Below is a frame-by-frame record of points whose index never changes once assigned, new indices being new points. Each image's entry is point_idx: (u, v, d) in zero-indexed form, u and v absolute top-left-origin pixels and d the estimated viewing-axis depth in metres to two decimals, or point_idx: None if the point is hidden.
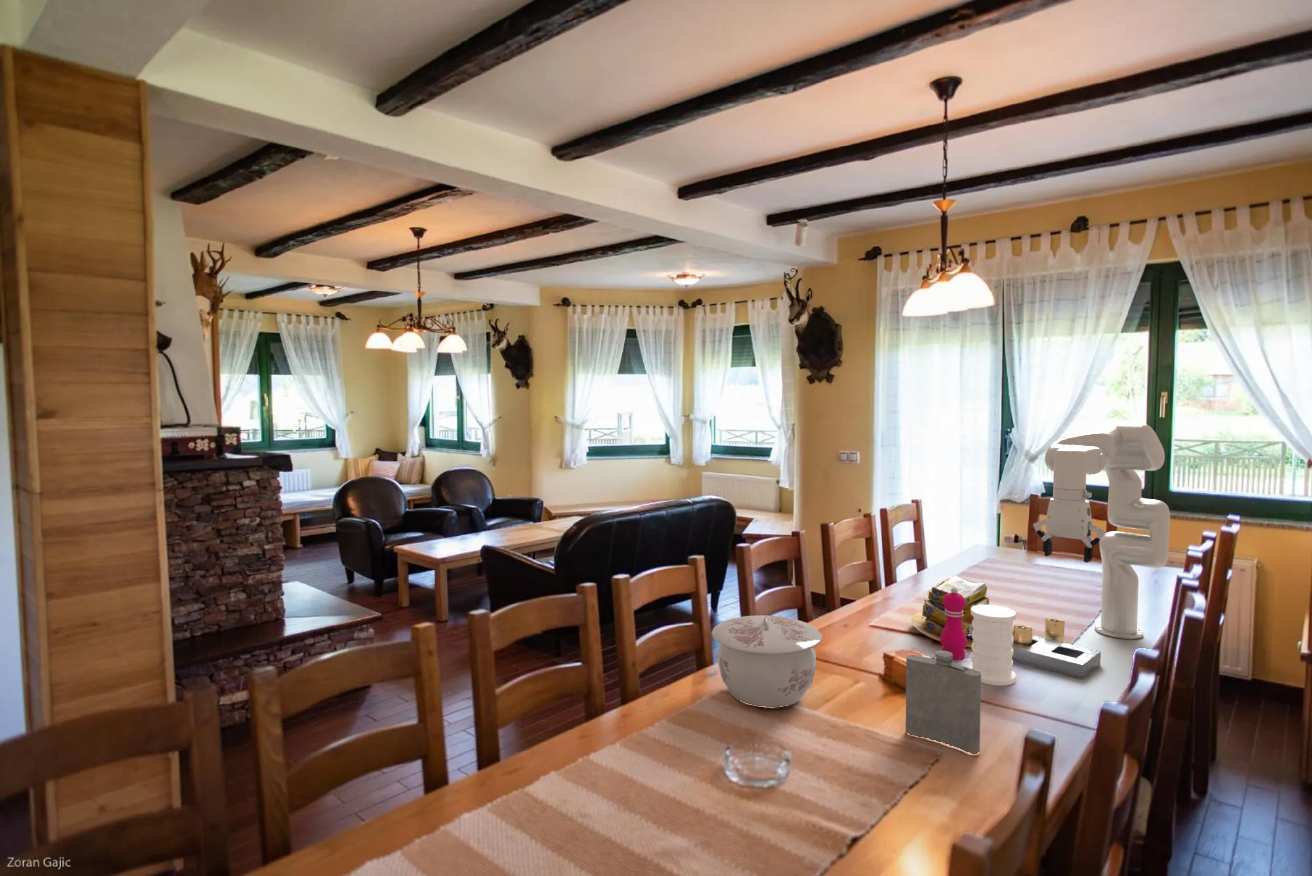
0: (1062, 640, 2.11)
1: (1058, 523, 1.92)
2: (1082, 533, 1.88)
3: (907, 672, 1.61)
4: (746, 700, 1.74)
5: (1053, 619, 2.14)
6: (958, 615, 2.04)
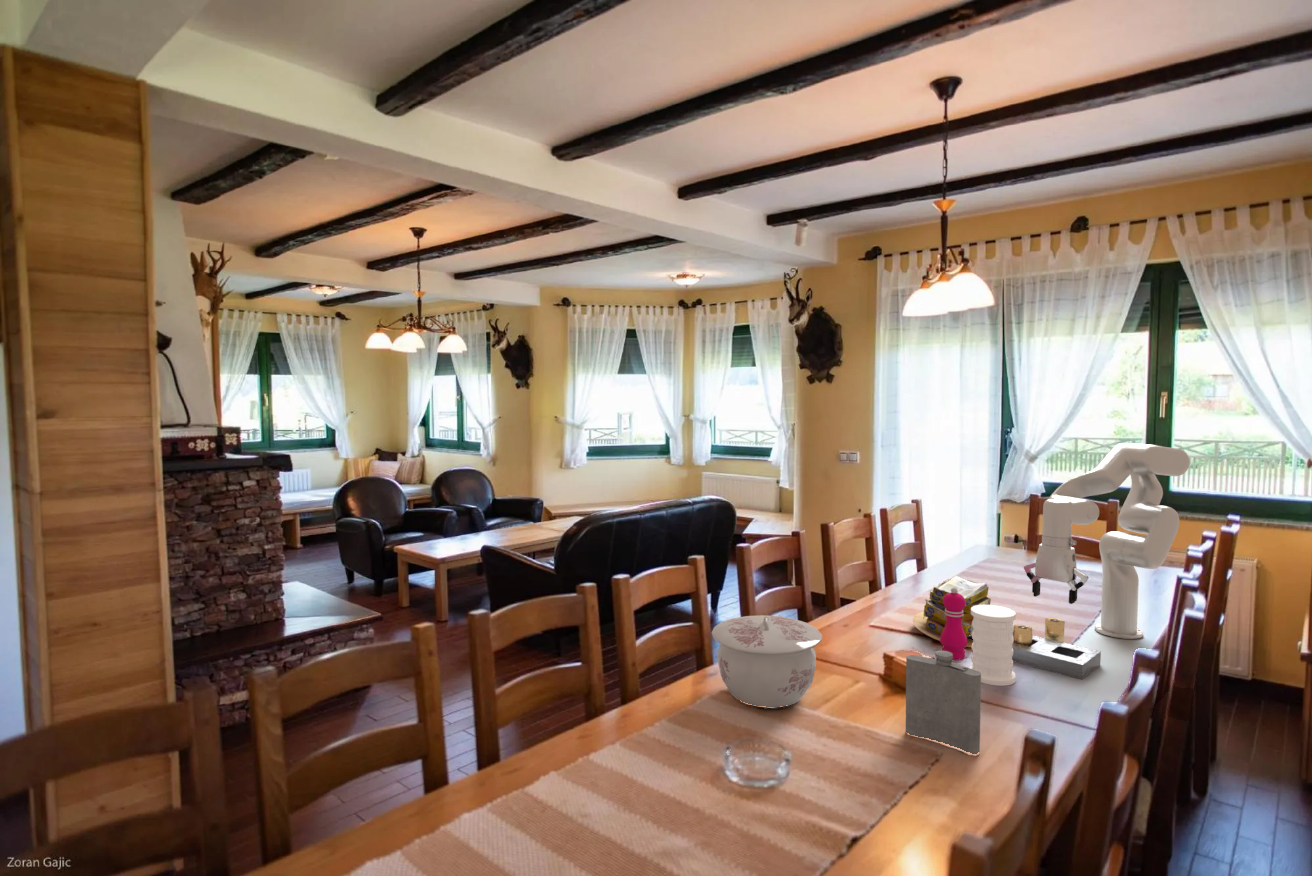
0: (1062, 640, 2.11)
1: (1046, 567, 2.11)
2: (1068, 577, 2.07)
3: (907, 672, 1.61)
4: (746, 700, 1.74)
5: (1053, 619, 2.14)
6: (958, 615, 2.04)
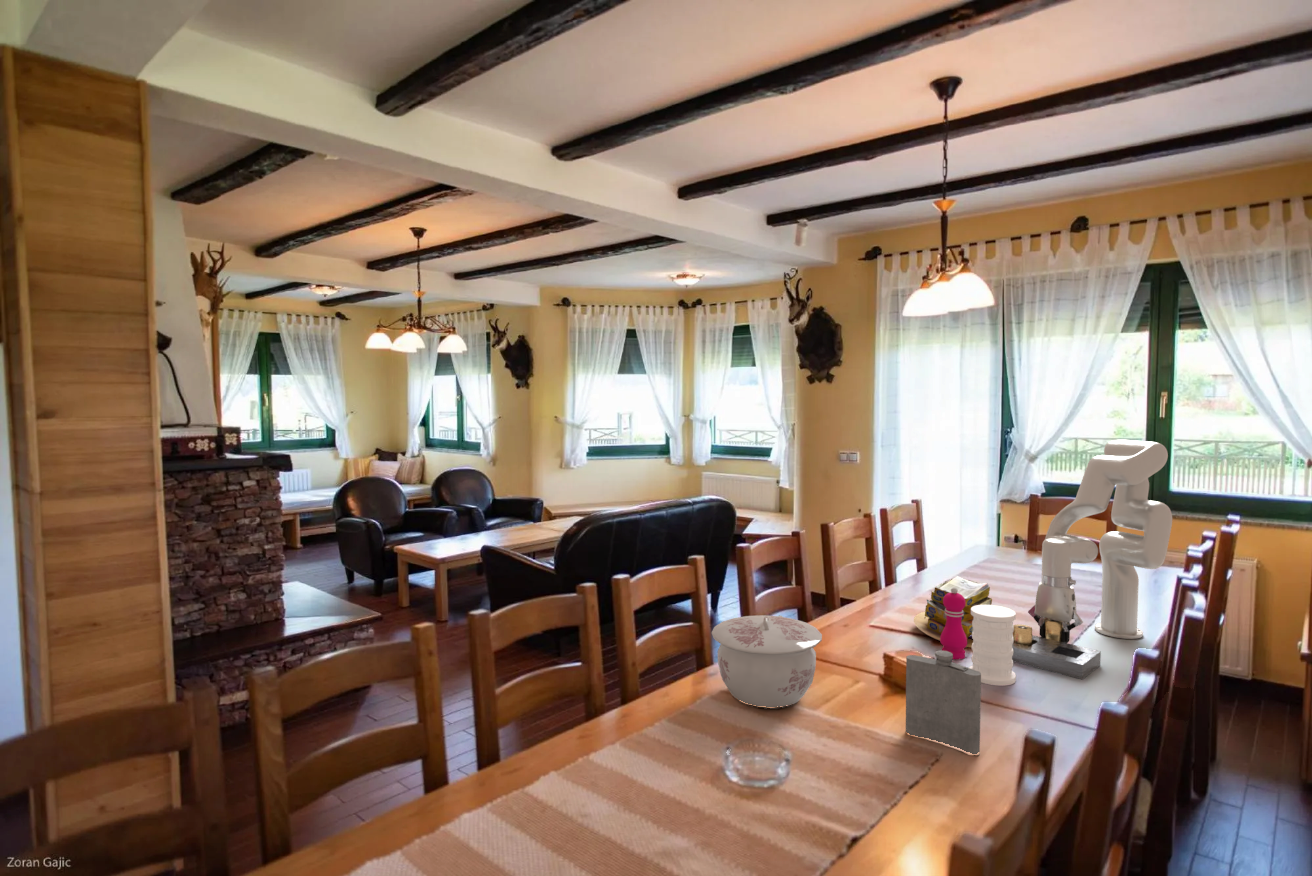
0: None
1: (1046, 606, 2.12)
2: (1067, 616, 2.08)
3: (907, 672, 1.61)
4: (746, 700, 1.74)
5: None
6: (958, 615, 2.04)
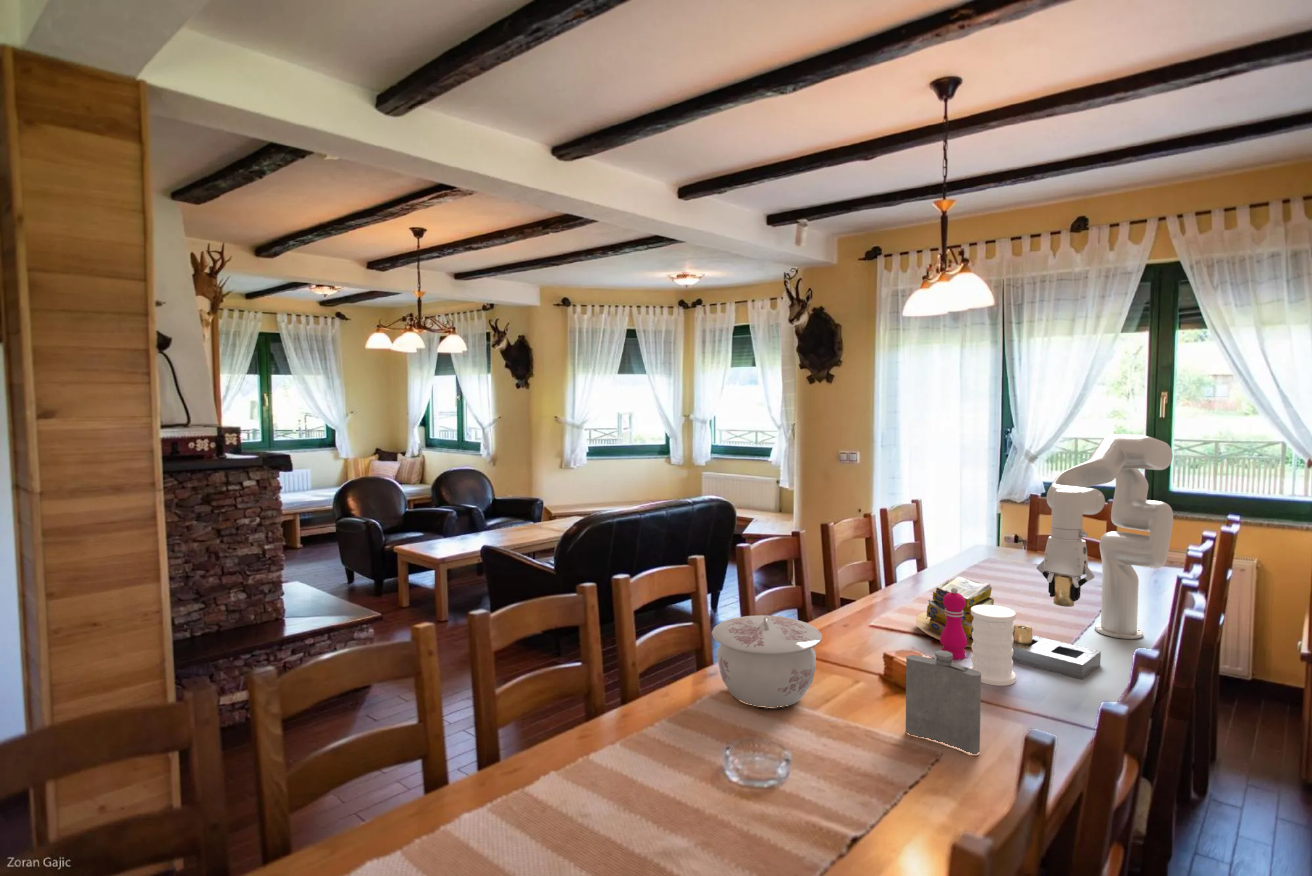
0: None
1: (1055, 560, 2.00)
2: (1078, 570, 1.96)
3: (907, 672, 1.61)
4: (746, 700, 1.74)
5: (1063, 575, 2.02)
6: (958, 615, 2.04)
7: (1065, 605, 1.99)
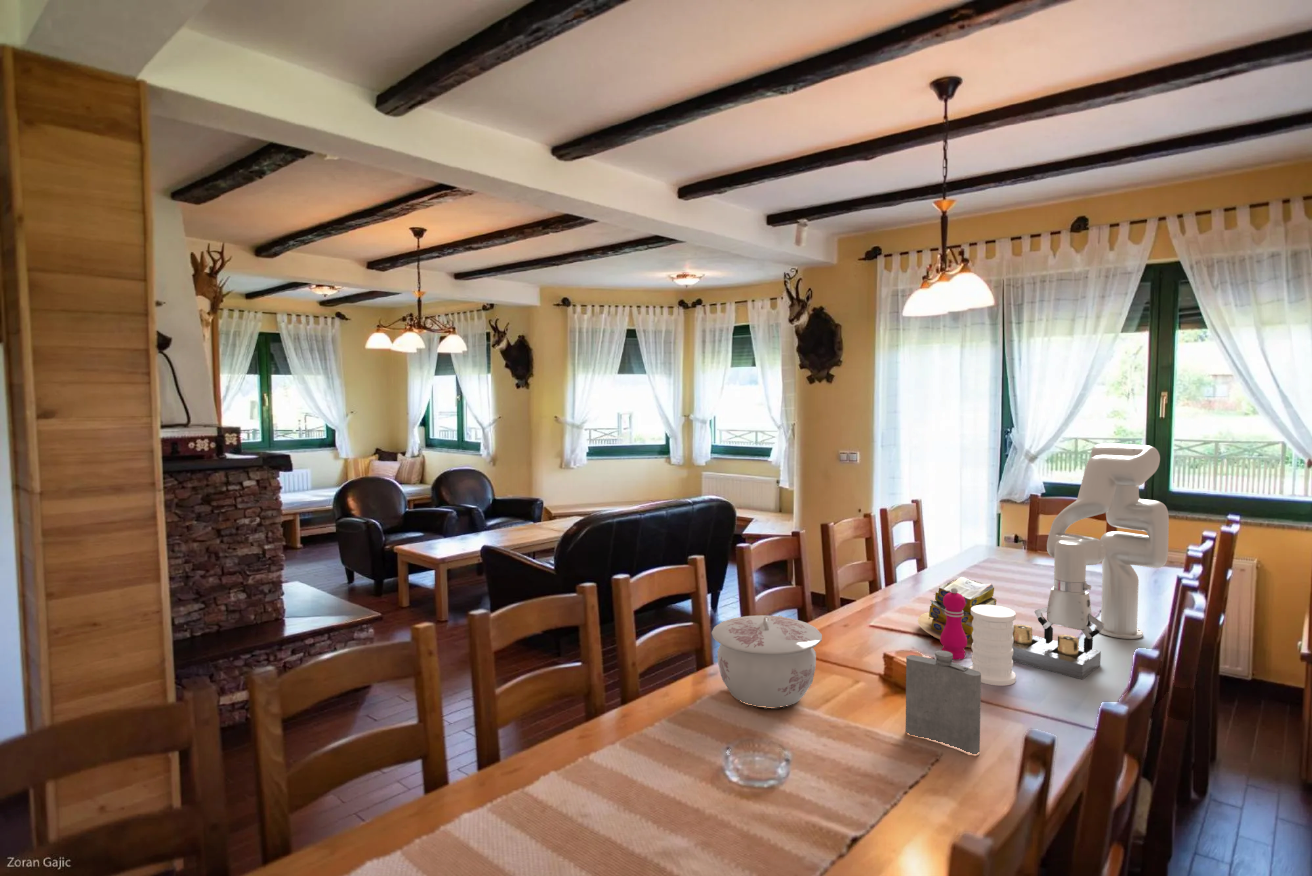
0: None
1: (1059, 613, 1.97)
2: (1082, 624, 1.93)
3: (907, 672, 1.61)
4: (746, 700, 1.74)
5: (1067, 636, 1.99)
6: (958, 615, 2.04)
7: None
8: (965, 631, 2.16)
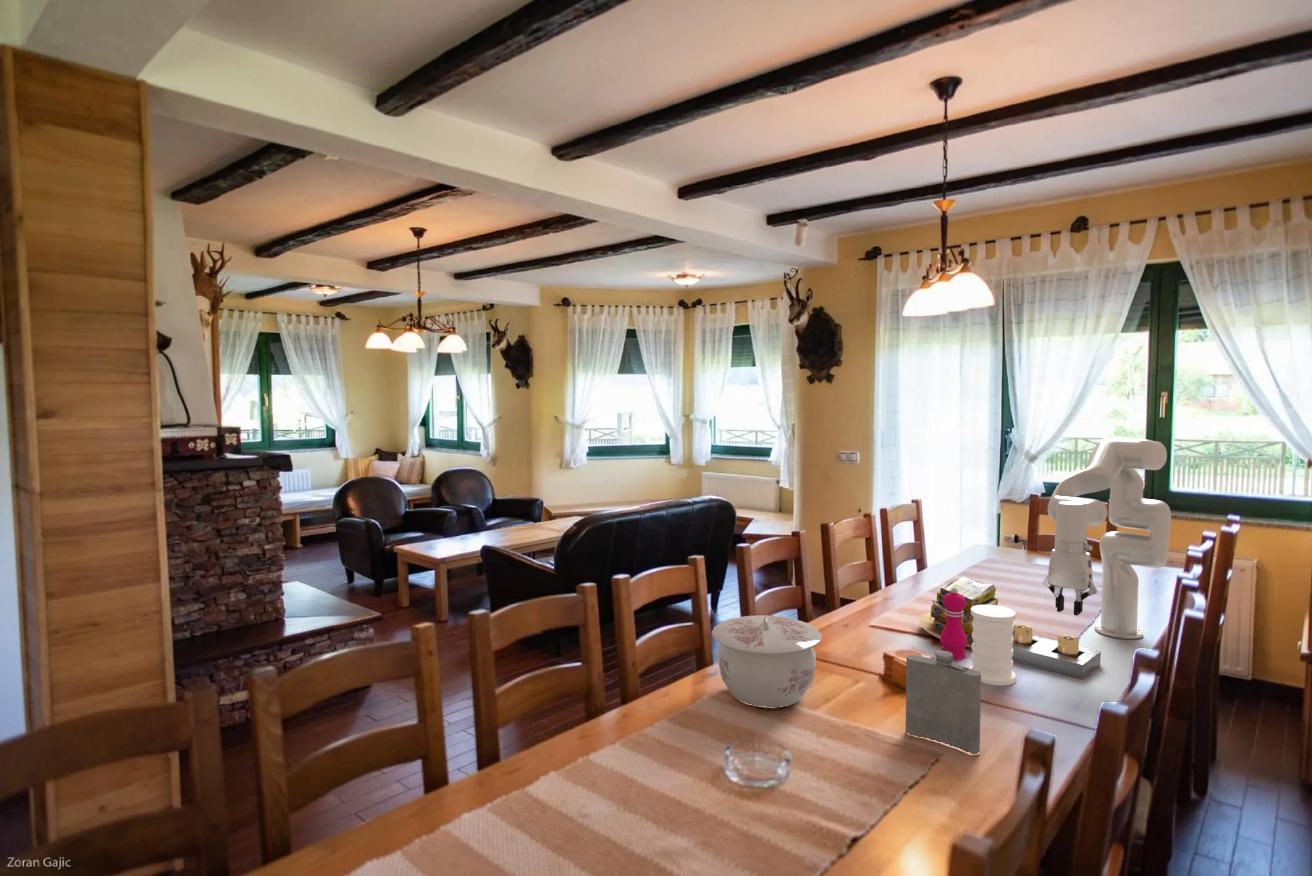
0: None
1: (1060, 574, 1.97)
2: (1083, 584, 1.93)
3: (907, 672, 1.61)
4: (746, 700, 1.74)
5: (1067, 636, 1.99)
6: (958, 615, 2.04)
7: None
8: (967, 631, 2.16)
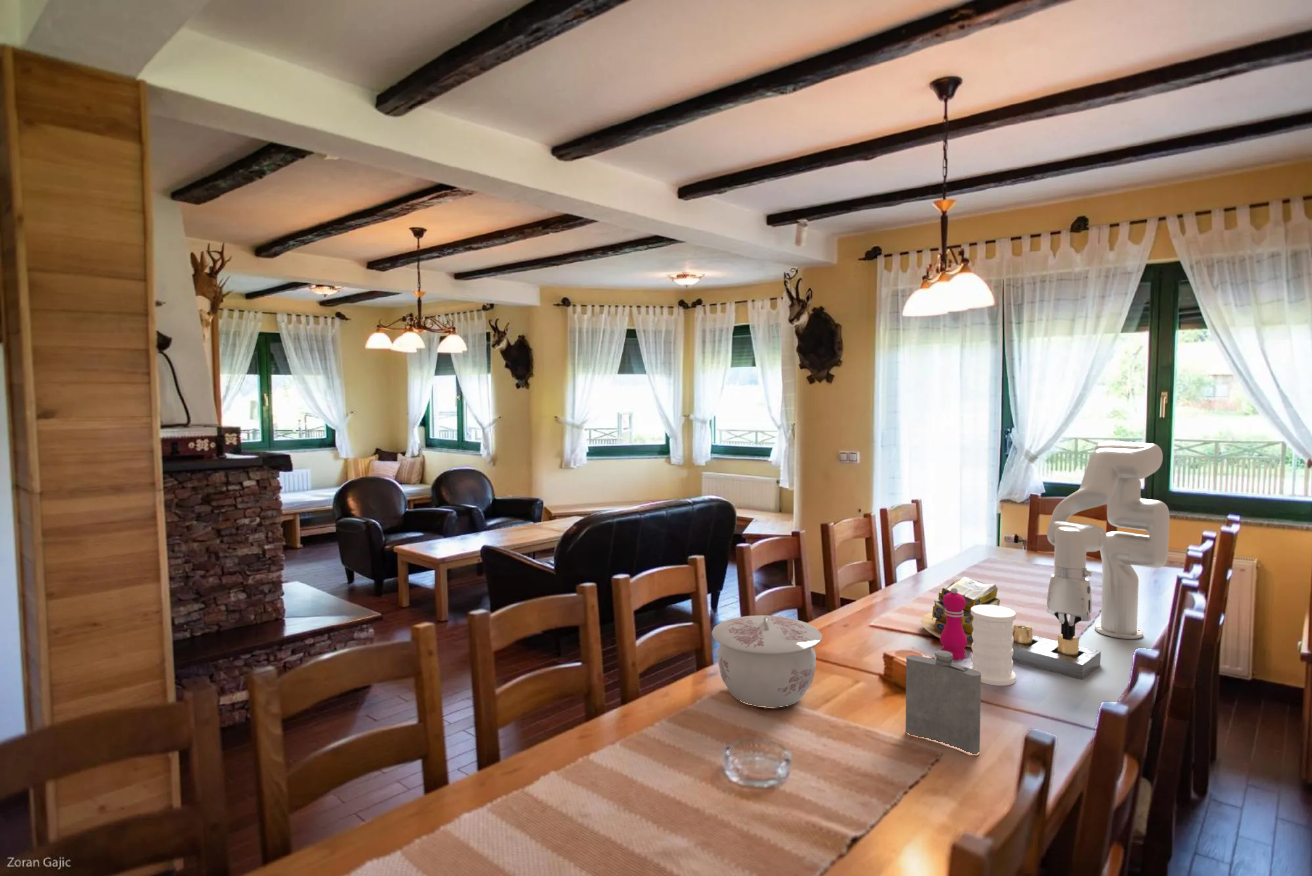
0: None
1: (1059, 599, 1.97)
2: (1082, 610, 1.93)
3: (907, 672, 1.61)
4: (746, 700, 1.74)
5: None
6: (958, 615, 2.04)
7: None
8: (968, 631, 2.16)
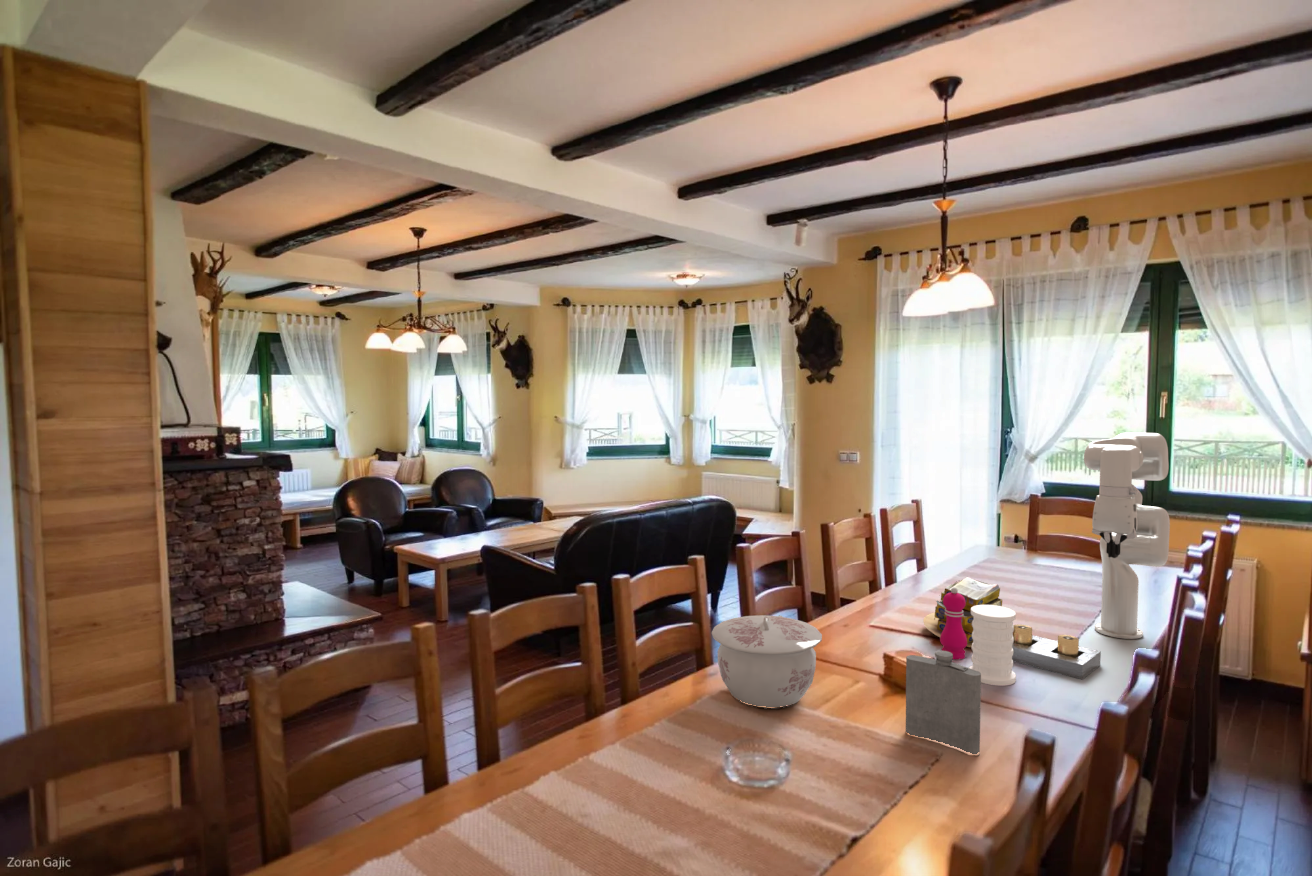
0: None
1: (1105, 519, 2.01)
2: (1129, 528, 1.97)
3: (907, 672, 1.61)
4: (746, 700, 1.74)
5: (1066, 636, 1.99)
6: (958, 615, 2.04)
7: None
8: (971, 632, 2.16)
